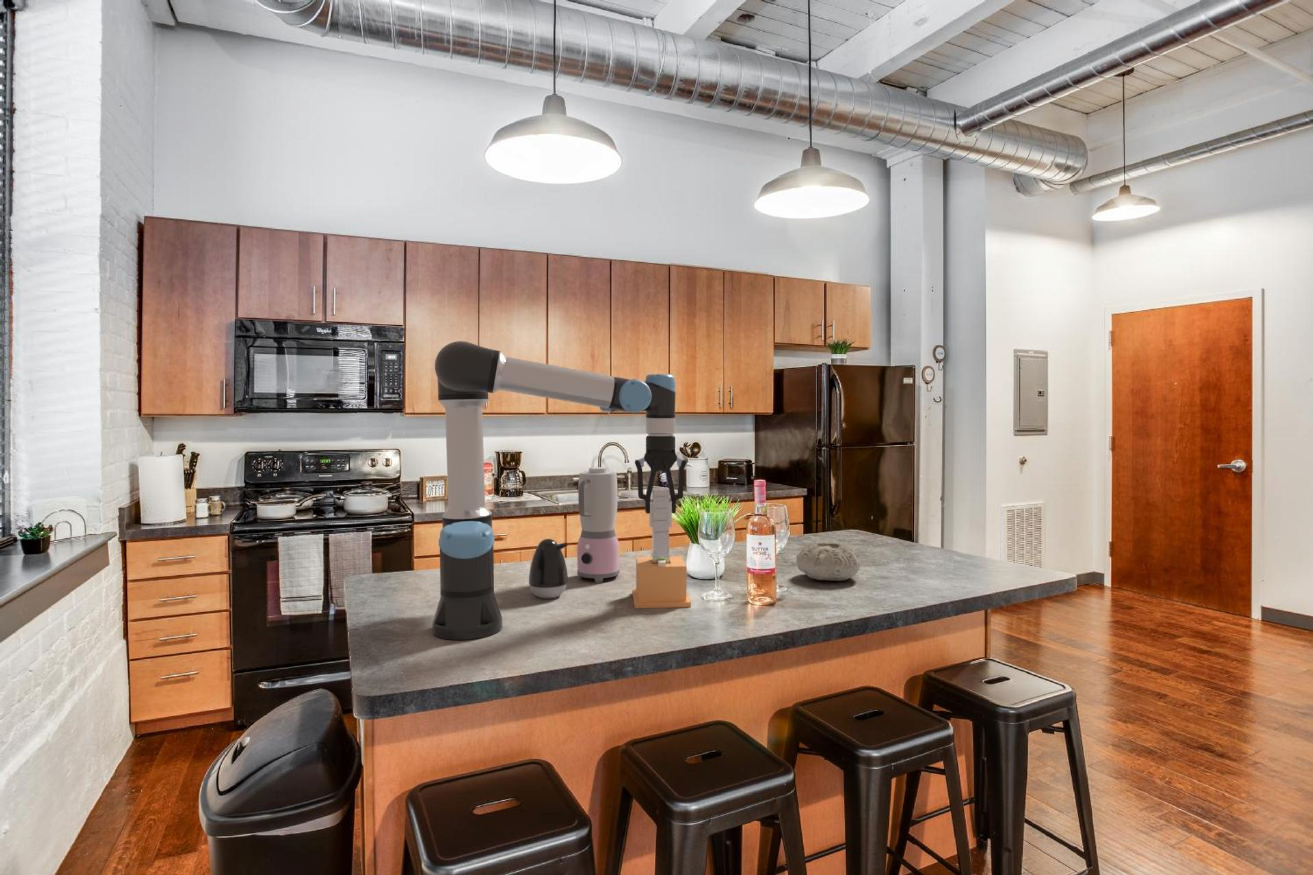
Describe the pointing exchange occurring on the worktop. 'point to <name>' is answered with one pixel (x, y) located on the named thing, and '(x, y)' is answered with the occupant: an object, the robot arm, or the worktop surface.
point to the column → (660, 525)
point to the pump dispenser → (548, 570)
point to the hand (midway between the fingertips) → (660, 525)
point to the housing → (660, 583)
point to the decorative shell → (828, 561)
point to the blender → (597, 525)
